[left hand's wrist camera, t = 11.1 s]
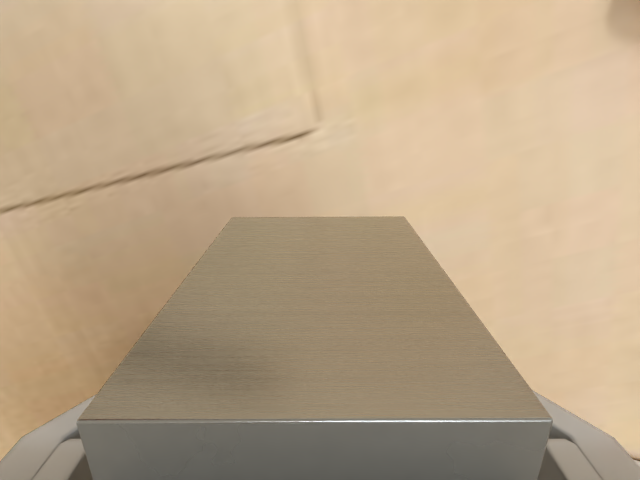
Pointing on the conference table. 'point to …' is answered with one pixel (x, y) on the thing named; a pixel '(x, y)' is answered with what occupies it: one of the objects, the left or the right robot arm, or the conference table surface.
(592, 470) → the left robot arm
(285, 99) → the conference table surface
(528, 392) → the bar
